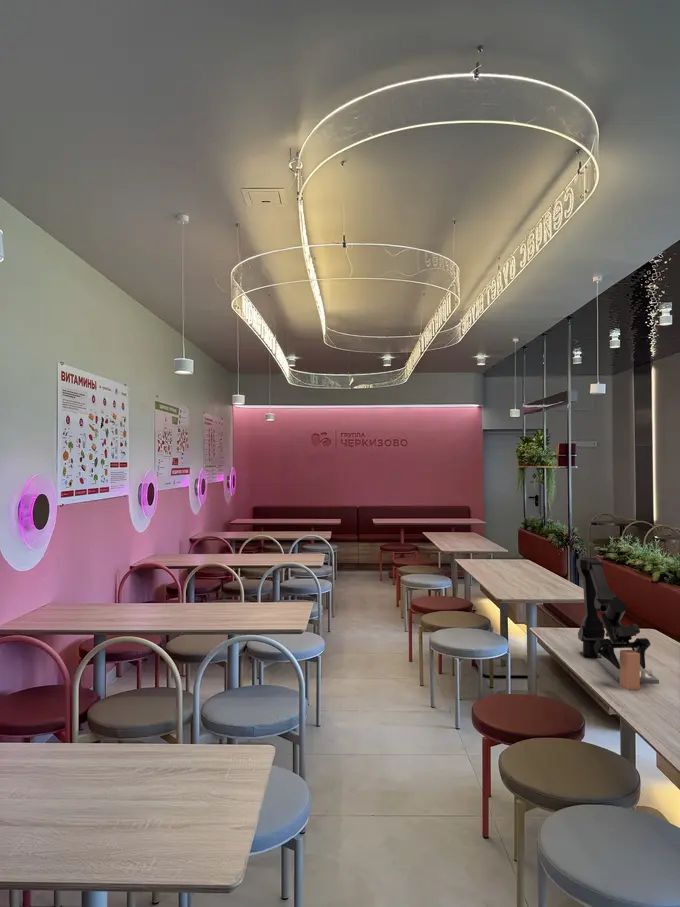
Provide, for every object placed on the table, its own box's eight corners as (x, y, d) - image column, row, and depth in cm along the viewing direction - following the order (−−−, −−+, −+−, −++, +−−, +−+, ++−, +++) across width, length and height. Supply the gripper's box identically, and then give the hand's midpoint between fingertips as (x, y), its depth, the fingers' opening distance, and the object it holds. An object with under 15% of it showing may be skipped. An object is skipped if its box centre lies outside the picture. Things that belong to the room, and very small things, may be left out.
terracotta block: (619, 684, 210) (619, 650, 210) (631, 684, 211) (631, 649, 211) (627, 689, 206) (627, 654, 206) (639, 689, 206) (639, 653, 206)
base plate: (596, 661, 235) (596, 651, 235) (633, 662, 234) (633, 653, 234) (617, 681, 213) (618, 670, 213) (659, 683, 212) (659, 672, 212)
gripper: (598, 615, 211) (616, 657, 200) (647, 615, 214) (668, 656, 203) (586, 632, 219) (602, 673, 208) (633, 631, 221) (652, 672, 210)
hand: (631, 668), depth 207 cm, fingers open, 9 cm apart
